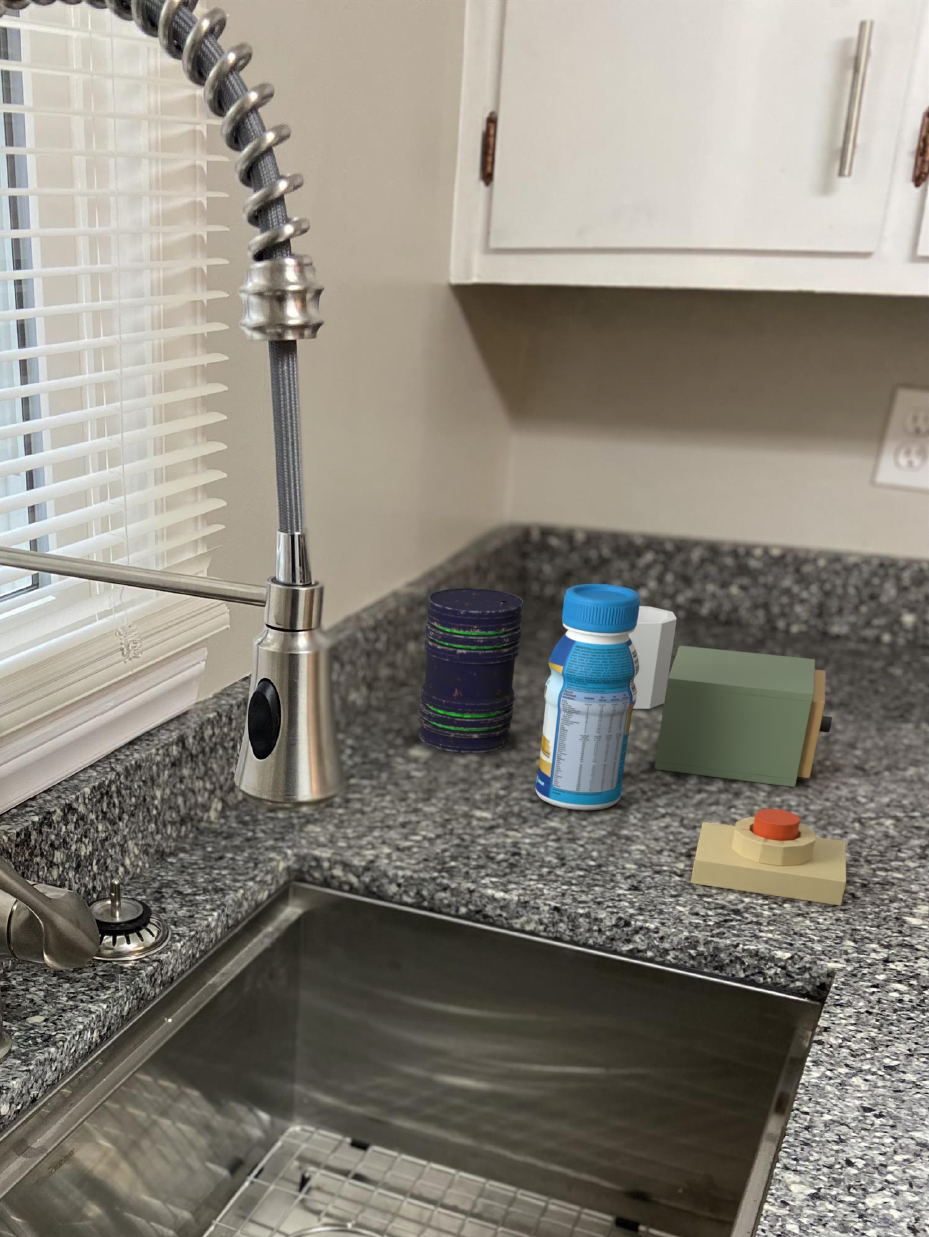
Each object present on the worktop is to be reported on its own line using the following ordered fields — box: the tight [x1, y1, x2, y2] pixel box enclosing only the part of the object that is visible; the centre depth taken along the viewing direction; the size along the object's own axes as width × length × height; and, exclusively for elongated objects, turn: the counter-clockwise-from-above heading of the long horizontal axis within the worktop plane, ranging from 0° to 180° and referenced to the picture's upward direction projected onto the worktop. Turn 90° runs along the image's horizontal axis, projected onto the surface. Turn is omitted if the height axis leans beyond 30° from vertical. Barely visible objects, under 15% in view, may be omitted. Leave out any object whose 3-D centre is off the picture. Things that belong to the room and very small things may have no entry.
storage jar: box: [418, 587, 524, 754], centre depth 153 cm, size 10×10×15 cm
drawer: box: [797, 669, 833, 779], centre depth 148 cm, size 14×11×8 cm
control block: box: [690, 816, 847, 906], centre depth 124 cm, size 12×9×4 cm
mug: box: [628, 605, 678, 710], centre depth 167 cm, size 12×9×10 cm
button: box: [752, 808, 801, 841], centre depth 123 cm, size 4×4×2 cm
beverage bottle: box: [534, 583, 641, 811], centre depth 136 cm, size 8×8×20 cm
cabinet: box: [653, 645, 816, 788], centre depth 149 cm, size 14×13×10 cm
